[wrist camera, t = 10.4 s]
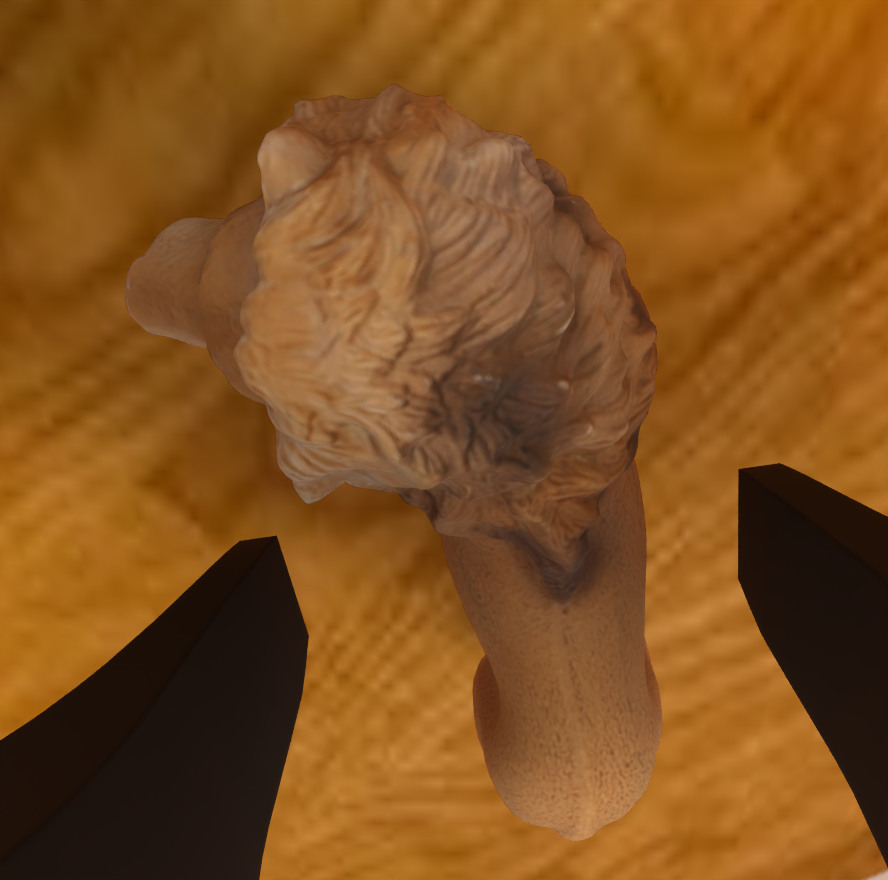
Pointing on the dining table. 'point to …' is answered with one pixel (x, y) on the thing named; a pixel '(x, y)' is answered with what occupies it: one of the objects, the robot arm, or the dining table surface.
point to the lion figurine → (454, 404)
